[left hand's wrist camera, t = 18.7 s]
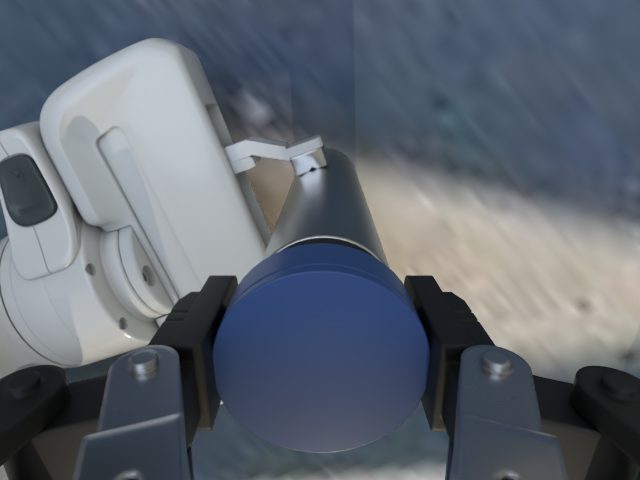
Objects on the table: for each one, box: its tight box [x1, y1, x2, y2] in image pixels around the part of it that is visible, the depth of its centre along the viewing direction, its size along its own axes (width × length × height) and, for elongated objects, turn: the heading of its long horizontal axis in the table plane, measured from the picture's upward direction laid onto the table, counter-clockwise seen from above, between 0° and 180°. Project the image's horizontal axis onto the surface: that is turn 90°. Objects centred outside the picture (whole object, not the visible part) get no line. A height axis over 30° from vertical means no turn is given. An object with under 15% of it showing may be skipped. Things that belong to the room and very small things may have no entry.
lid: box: [212, 243, 430, 453], centre depth 10 cm, size 5×5×2 cm
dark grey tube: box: [262, 149, 390, 269], centre depth 19 cm, size 4×4×19 cm
